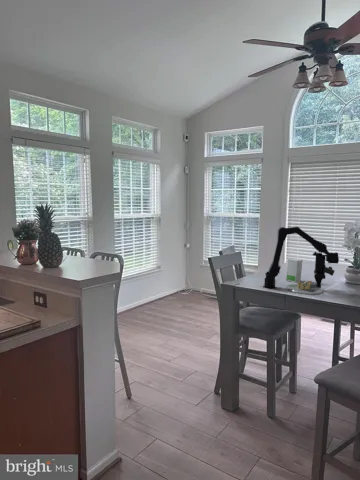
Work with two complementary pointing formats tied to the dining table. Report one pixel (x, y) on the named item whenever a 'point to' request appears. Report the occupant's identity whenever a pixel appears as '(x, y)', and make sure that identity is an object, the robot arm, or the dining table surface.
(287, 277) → the skincare box
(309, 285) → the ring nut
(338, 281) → the dining table surface
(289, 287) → the clear glass plate
